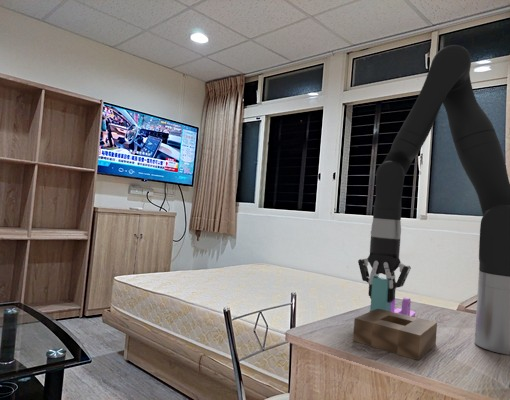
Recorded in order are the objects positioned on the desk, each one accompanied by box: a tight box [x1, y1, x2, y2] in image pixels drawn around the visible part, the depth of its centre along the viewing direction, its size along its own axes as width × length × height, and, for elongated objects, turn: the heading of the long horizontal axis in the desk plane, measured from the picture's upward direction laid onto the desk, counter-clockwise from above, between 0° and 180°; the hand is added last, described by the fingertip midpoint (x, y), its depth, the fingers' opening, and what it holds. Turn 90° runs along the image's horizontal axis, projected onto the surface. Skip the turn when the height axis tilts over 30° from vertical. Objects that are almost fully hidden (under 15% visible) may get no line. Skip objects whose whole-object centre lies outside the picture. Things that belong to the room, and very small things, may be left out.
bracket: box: [391, 296, 416, 317], centre depth 107 cm, size 13×6×7 cm, turn 144°
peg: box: [369, 276, 391, 312], centre depth 99 cm, size 4×4×12 cm
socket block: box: [352, 309, 438, 361], centre depth 84 cm, size 14×14×5 cm
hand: (381, 299), depth 99 cm, fingers closed on peg, 4 cm apart
